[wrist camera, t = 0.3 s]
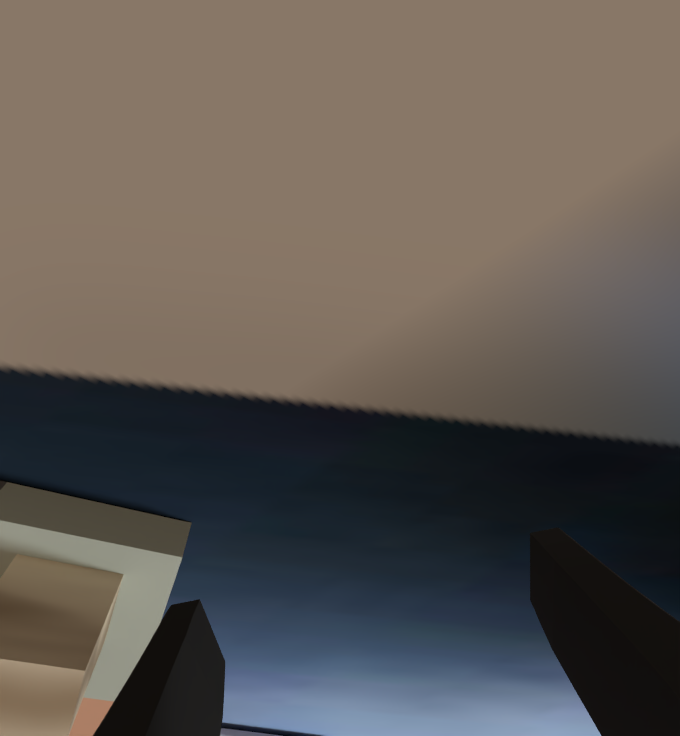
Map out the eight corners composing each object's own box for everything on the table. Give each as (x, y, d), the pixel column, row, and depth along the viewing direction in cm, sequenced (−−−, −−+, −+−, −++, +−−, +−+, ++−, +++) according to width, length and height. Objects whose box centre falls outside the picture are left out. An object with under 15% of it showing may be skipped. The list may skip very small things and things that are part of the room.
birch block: (104, 640, 21) (65, 743, 17) (4, 624, 20) (-60, 729, 16) (123, 574, 19) (85, 671, 16) (16, 554, 19) (-50, 651, 15)
